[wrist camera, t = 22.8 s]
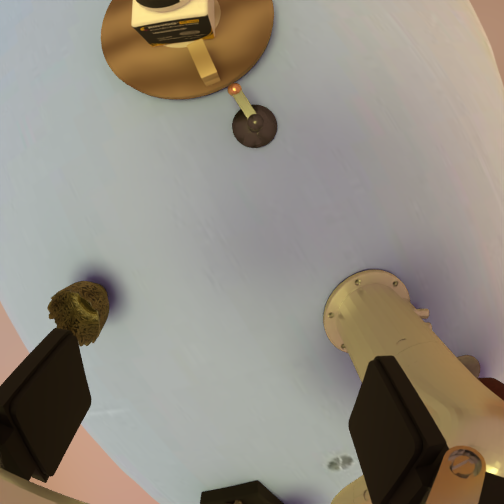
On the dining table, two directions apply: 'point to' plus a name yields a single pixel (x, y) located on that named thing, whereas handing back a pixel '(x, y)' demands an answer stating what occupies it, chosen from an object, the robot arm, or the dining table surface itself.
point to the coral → (240, 495)
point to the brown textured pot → (81, 310)
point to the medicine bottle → (173, 20)
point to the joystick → (251, 121)
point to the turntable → (188, 50)
